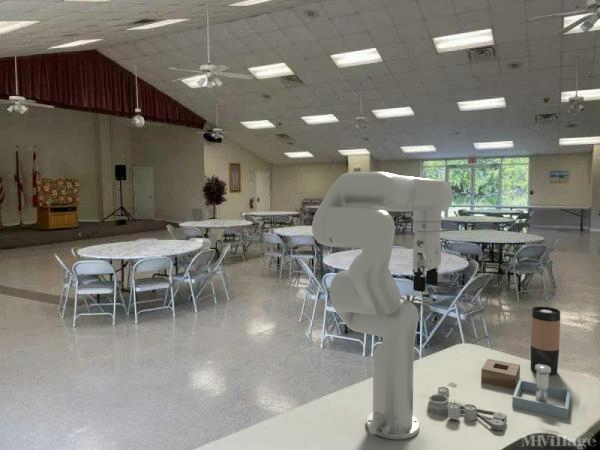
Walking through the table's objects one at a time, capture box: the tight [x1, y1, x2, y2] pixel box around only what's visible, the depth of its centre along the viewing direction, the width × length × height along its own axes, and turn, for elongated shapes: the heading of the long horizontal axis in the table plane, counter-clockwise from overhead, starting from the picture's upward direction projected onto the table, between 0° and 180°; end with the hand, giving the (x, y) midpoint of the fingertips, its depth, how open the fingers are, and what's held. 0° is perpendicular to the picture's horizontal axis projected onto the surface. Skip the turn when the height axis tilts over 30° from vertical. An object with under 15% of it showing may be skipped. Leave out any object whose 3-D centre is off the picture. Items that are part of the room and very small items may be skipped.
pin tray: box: [511, 378, 571, 420], centre depth 121 cm, size 12×12×4 cm
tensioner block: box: [480, 358, 521, 391], centre depth 135 cm, size 9×9×5 cm
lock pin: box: [535, 364, 551, 404], centre depth 121 cm, size 4×4×10 cm
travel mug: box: [530, 306, 561, 377], centre depth 140 cm, size 8×8×20 cm
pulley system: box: [427, 382, 508, 431], centre depth 121 cm, size 27×5×15 cm
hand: (425, 287), depth 130 cm, fingers open, 9 cm apart
